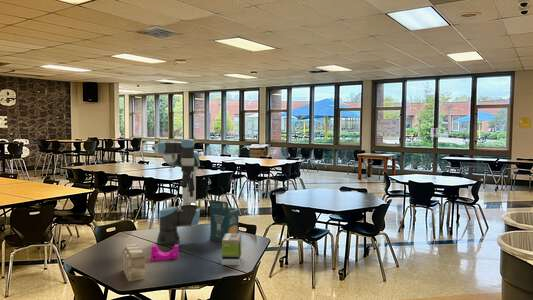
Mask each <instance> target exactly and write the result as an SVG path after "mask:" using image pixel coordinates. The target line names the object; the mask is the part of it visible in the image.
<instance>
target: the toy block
mask: <svg viewBox="0 0 533 300" xmlns="http://www.w3.org/2000/svg"><path fill="white" fill-rule="evenodd" d="M170 259H171V260H173V259H179V244H174V246H173V249H171V250H170V251H167V252H165V251H161V250H160V249H159V247H158V244H154V245H153V244H152V245H151V252H150V261H152V262H153V261H170Z"/></svg>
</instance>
